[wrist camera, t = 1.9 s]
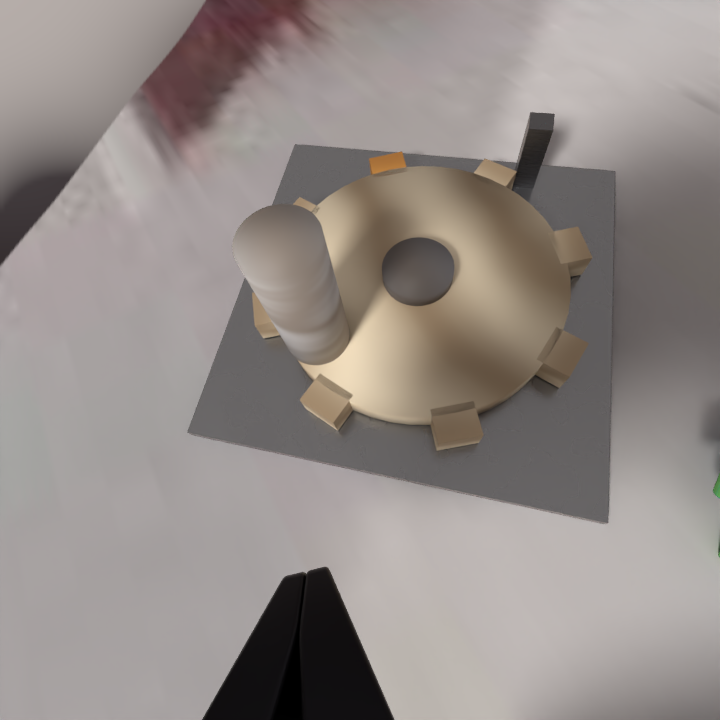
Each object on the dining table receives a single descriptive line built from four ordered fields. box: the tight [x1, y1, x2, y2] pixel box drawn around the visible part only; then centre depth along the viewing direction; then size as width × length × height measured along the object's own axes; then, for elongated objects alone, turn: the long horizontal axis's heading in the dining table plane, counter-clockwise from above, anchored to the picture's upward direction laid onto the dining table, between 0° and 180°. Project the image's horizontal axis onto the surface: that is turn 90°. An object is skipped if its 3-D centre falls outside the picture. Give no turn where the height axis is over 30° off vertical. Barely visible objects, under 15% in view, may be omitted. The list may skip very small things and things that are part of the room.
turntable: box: [232, 152, 592, 451], centre depth 20 cm, size 17×17×9 cm
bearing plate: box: [187, 112, 615, 524], centre depth 23 cm, size 20×20×4 cm
